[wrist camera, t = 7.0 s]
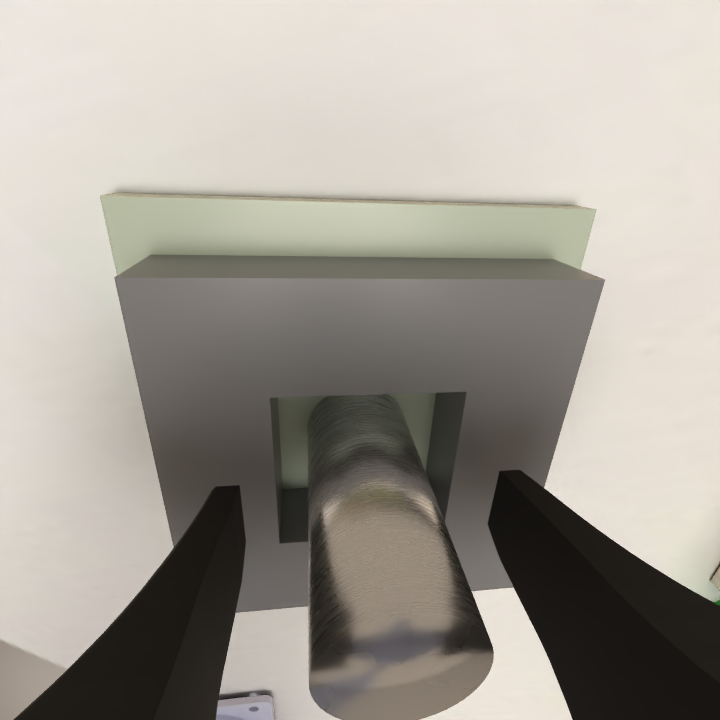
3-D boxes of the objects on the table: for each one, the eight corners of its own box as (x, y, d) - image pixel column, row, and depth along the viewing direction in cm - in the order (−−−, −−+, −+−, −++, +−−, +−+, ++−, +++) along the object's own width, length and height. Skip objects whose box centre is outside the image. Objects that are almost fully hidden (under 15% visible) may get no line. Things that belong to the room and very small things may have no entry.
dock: (189, 562, 18) (166, 646, 15) (115, 192, 12) (46, 205, 9) (495, 539, 20) (531, 610, 17) (577, 205, 13) (659, 220, 10)
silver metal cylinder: (313, 473, 16) (318, 737, 8) (302, 392, 14) (297, 630, 7) (405, 461, 16) (486, 708, 9) (404, 380, 14) (501, 599, 7)
